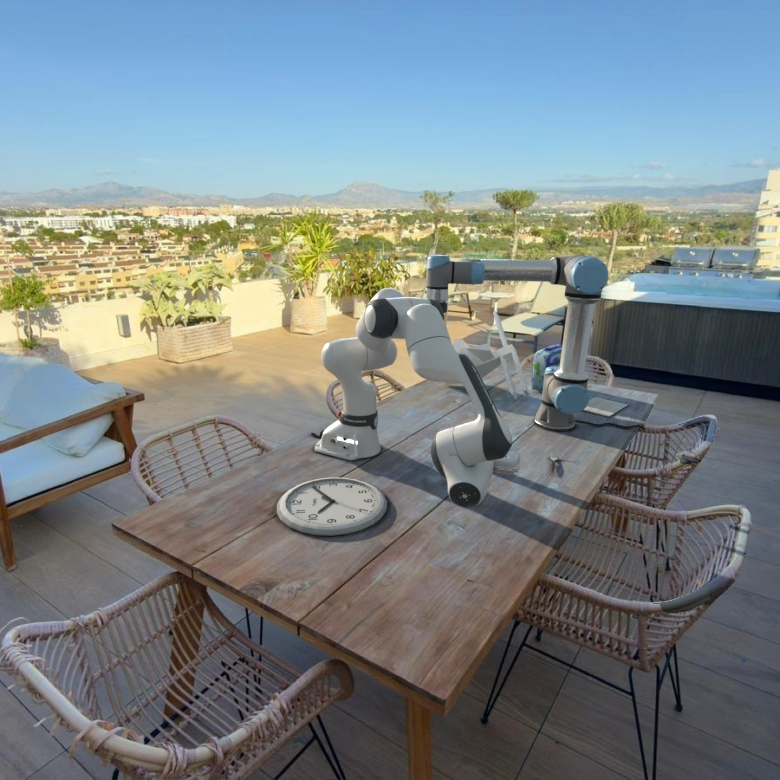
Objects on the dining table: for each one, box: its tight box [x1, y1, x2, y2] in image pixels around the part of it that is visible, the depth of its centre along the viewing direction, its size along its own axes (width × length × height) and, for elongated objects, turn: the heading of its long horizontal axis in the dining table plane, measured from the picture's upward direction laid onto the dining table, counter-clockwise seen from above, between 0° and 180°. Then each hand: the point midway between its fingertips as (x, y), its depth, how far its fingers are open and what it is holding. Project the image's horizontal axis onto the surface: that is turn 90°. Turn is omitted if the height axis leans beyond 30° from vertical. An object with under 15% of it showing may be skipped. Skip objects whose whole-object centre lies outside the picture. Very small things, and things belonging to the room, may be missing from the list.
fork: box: [549, 449, 560, 474], centre depth 170 cm, size 3×16×2 cm, turn 160°
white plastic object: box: [443, 310, 531, 400], centre depth 245 cm, size 37×45×31 cm
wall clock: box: [276, 476, 388, 537], centre depth 142 cm, size 30×2×30 cm
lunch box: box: [530, 344, 563, 393], centre depth 247 cm, size 26×11×21 cm, turn 134°
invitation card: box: [583, 396, 629, 418], centre depth 226 cm, size 21×1×15 cm
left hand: (483, 445), depth 143 cm, fingers open, 8 cm apart
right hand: (434, 360), depth 187 cm, fingers open, 13 cm apart
